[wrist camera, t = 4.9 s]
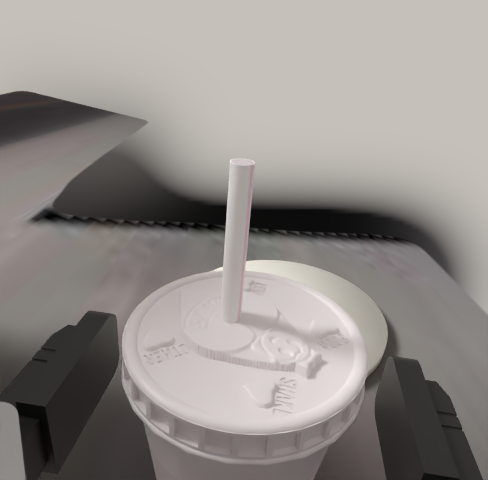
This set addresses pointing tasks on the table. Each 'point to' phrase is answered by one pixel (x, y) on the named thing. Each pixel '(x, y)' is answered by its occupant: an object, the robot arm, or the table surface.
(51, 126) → the table surface
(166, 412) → the smoothie
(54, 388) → the robot arm
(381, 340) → the plate
